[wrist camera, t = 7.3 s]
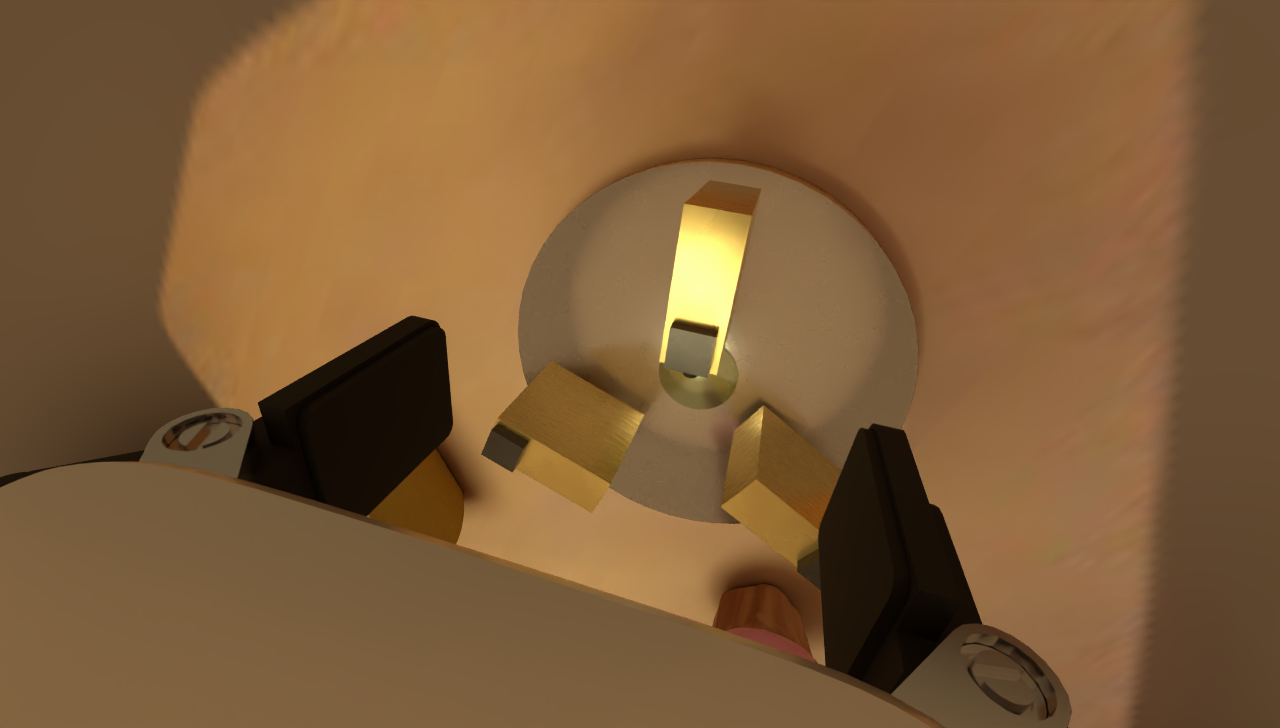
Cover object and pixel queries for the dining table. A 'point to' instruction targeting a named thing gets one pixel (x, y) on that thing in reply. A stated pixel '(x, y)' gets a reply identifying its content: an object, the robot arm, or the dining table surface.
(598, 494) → the gold rectangular block
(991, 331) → the dining table surface
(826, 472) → the golden block
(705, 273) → the gold flat block
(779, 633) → the cupcake
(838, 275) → the plate
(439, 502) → the flower pot
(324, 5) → the dining table surface
